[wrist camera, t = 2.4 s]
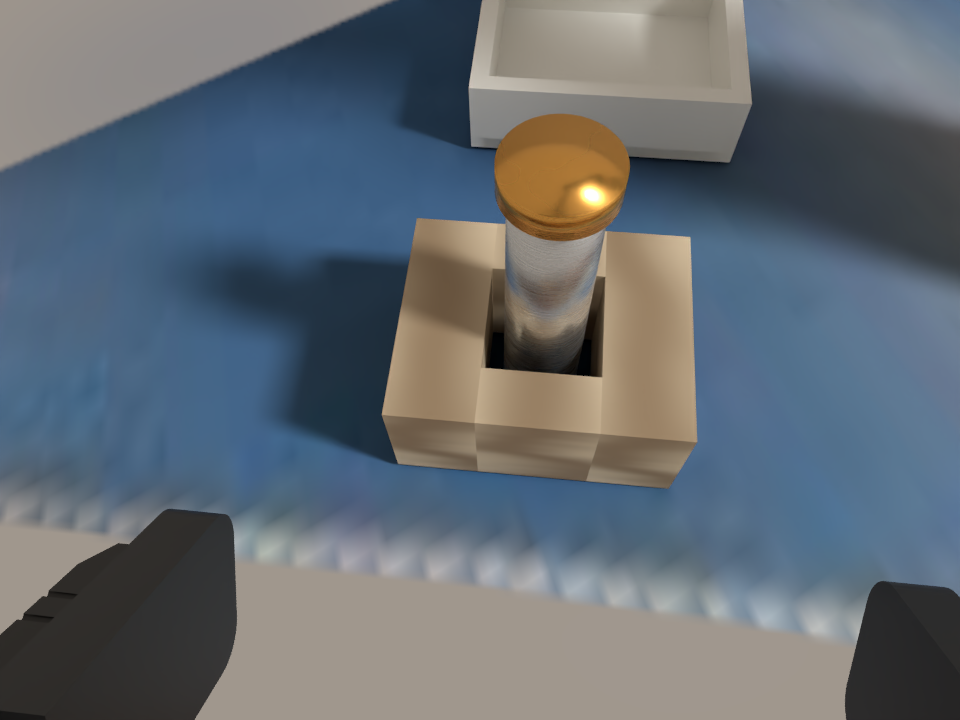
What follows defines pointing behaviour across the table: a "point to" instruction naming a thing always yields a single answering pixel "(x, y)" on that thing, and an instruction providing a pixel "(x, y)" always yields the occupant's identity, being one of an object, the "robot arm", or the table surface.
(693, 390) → the block
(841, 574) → the table surface
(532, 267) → the lock pin
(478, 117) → the tray
